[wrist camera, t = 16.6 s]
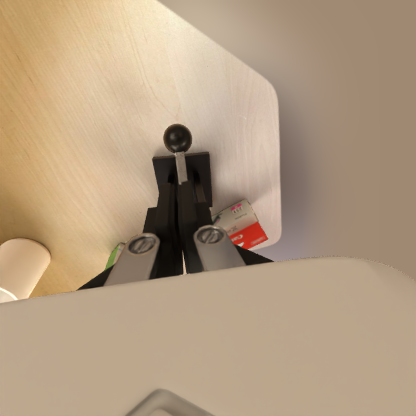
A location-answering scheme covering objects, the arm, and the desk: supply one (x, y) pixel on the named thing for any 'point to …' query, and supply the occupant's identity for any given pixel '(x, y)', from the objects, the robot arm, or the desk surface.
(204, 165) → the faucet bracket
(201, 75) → the desk surface
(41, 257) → the mug
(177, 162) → the lever
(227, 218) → the ink box
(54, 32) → the desk surface
